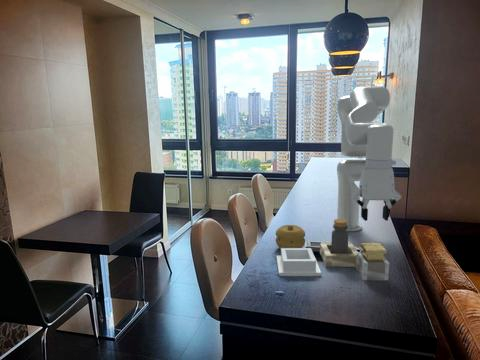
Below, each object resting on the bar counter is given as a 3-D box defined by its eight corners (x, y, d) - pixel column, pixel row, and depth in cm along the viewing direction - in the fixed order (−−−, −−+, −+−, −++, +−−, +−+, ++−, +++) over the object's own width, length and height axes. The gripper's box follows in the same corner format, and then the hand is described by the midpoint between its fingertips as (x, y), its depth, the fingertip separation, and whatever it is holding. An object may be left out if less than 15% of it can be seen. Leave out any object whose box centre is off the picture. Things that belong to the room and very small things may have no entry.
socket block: (319, 252, 136) (320, 238, 135) (366, 252, 135) (367, 237, 134) (332, 280, 115) (332, 263, 113) (388, 280, 114) (389, 263, 113)
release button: (359, 259, 120) (360, 242, 119) (378, 259, 120) (379, 242, 119) (365, 267, 114) (366, 250, 113) (385, 267, 114) (386, 250, 113)
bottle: (345, 256, 133) (346, 218, 130) (349, 262, 127) (350, 223, 124) (329, 256, 133) (330, 218, 130) (332, 262, 127) (334, 223, 124)
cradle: (276, 258, 132) (276, 246, 131) (314, 258, 131) (314, 246, 130) (279, 276, 118) (279, 263, 117) (321, 276, 118) (321, 262, 117)
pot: (297, 257, 133) (298, 232, 130) (270, 251, 139) (270, 227, 137) (309, 246, 142) (310, 223, 140) (283, 241, 148) (283, 218, 146)
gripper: (401, 162, 113) (397, 215, 117) (347, 162, 114) (345, 216, 118) (411, 166, 106) (406, 223, 110) (353, 166, 107) (351, 223, 111)
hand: (374, 218), depth 114 cm, fingers open, 5 cm apart
